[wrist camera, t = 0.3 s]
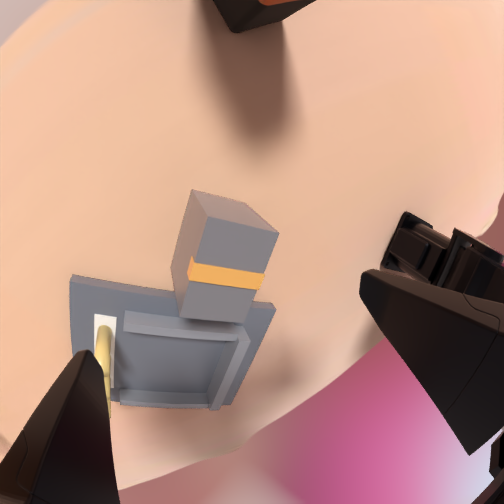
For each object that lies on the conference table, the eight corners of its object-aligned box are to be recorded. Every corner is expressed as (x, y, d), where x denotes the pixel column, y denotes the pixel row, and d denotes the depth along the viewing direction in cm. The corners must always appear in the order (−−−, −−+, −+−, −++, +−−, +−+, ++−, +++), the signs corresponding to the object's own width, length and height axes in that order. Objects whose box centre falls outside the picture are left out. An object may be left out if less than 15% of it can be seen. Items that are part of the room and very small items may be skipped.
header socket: (272, 303, 25) (299, 343, 20) (228, 398, 29) (242, 436, 25) (72, 274, 17) (55, 320, 13) (79, 388, 22) (76, 432, 17)
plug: (245, 202, 20) (280, 234, 15) (221, 275, 22) (245, 324, 17) (190, 189, 18) (207, 216, 13) (170, 267, 20) (179, 318, 15)
